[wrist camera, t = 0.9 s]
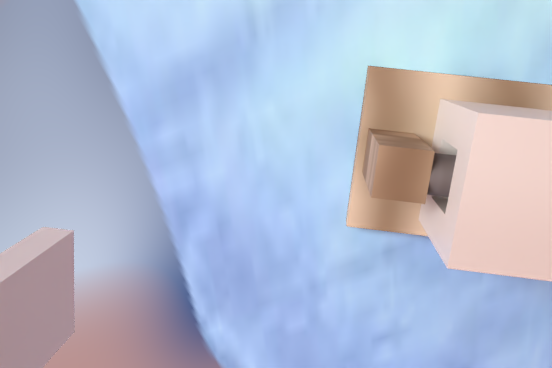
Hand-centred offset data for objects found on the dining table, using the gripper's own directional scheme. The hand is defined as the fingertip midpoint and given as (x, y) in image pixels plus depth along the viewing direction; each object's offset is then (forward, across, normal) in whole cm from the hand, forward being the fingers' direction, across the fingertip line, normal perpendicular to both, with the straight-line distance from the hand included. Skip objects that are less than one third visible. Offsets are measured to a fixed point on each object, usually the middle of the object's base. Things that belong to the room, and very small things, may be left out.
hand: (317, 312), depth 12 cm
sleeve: (+22, +11, 0) cm, 24 cm away
